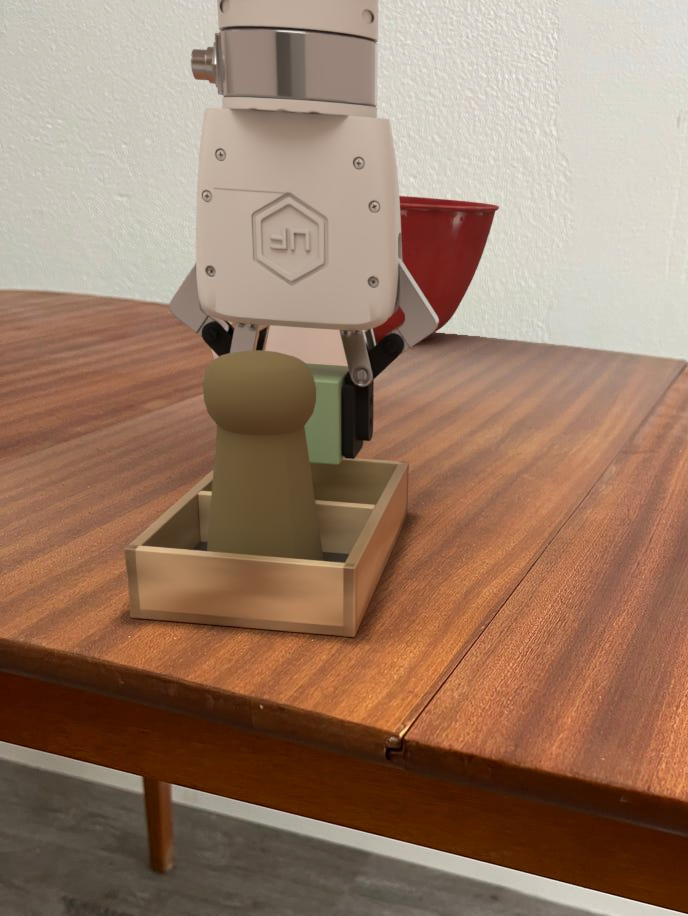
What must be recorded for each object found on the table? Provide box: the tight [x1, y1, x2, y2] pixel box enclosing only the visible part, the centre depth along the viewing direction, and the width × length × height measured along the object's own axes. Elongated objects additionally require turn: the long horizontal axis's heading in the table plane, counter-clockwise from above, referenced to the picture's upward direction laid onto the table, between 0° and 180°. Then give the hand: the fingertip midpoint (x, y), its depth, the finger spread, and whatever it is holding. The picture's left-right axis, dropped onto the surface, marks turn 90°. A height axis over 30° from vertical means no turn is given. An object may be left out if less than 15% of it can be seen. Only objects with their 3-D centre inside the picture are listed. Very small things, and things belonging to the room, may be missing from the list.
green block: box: [304, 363, 349, 465], centre depth 57 cm, size 4×4×4 cm
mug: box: [211, 321, 348, 366], centre depth 86 cm, size 12×8×10 cm
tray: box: [123, 457, 410, 638], centre depth 55 cm, size 11×18×4 cm, turn 176°
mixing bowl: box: [373, 195, 500, 344], centre depth 120 cm, size 28×28×15 cm
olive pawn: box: [202, 350, 324, 561], centre depth 50 cm, size 6×6×11 cm
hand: (307, 445), depth 58 cm, fingers closed on green block, 4 cm apart
